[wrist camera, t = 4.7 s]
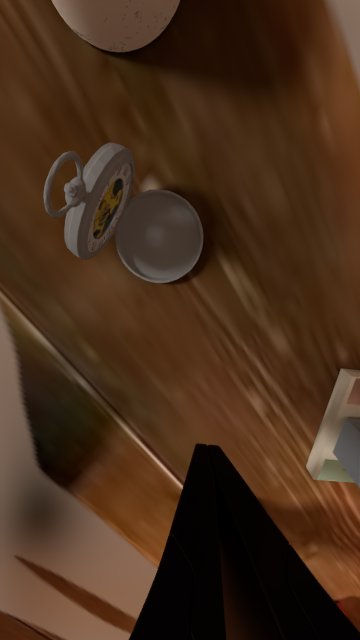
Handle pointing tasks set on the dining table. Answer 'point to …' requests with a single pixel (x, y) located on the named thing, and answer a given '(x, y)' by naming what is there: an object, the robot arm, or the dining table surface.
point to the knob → (349, 448)
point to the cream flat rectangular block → (335, 428)
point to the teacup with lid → (117, 21)
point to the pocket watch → (126, 217)
